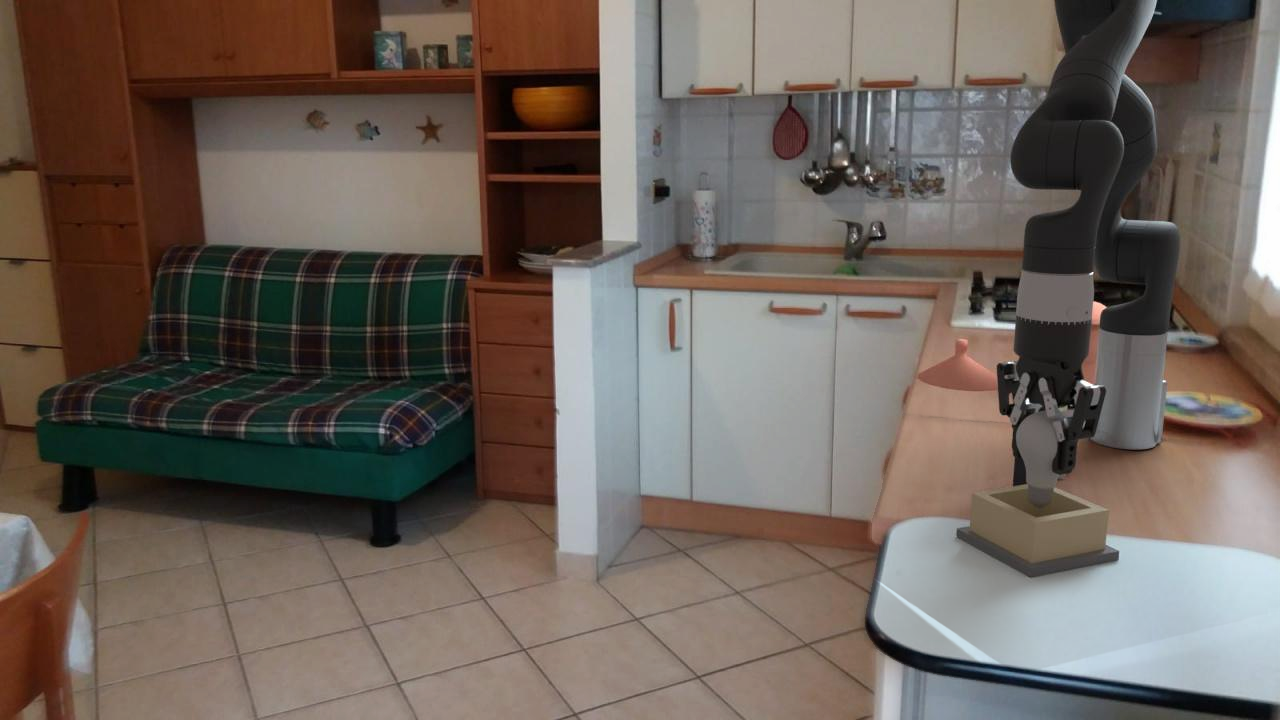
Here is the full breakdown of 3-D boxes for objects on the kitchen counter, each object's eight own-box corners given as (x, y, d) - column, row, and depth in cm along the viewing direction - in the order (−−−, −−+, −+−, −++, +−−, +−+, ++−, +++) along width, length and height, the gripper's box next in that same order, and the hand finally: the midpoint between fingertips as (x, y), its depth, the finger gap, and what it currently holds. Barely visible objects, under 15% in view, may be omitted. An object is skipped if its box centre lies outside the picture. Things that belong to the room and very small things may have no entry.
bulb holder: (1038, 521, 122) (1042, 477, 121) (1118, 559, 111) (1123, 511, 110) (956, 536, 117) (959, 491, 116) (1030, 577, 107) (1034, 527, 105)
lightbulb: (1073, 520, 110) (1084, 422, 107) (1013, 515, 111) (1023, 418, 108) (1062, 499, 115) (1072, 406, 113) (1005, 495, 117) (1014, 402, 114)
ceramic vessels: (895, 399, 179) (900, 292, 175) (902, 372, 199) (907, 276, 195) (1113, 413, 169) (1123, 301, 165) (1097, 384, 188) (1107, 283, 184)
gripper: (1135, 321, 103) (1119, 480, 107) (1033, 300, 116) (1022, 443, 120) (1077, 327, 101) (1063, 490, 104) (980, 305, 114) (970, 450, 117)
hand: (1041, 464), depth 112 cm, fingers closed on lightbulb, 5 cm apart
